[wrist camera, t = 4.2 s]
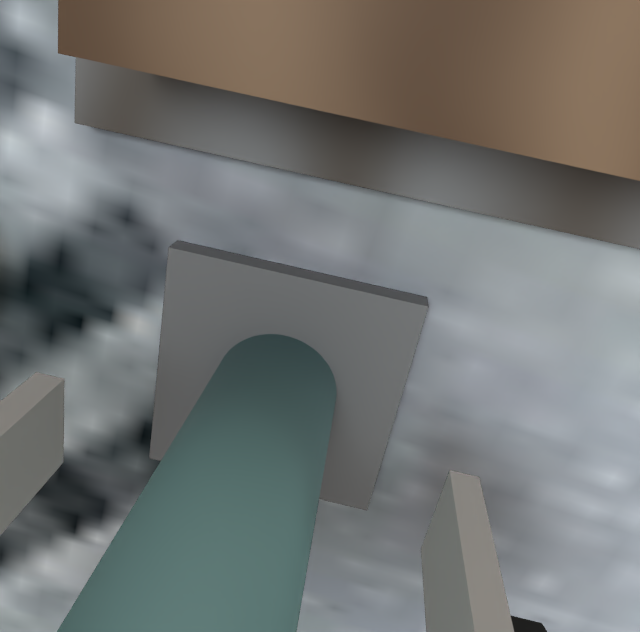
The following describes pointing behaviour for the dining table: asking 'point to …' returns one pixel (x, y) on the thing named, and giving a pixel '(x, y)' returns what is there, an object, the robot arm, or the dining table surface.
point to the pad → (297, 322)
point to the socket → (386, 95)
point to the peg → (224, 505)
